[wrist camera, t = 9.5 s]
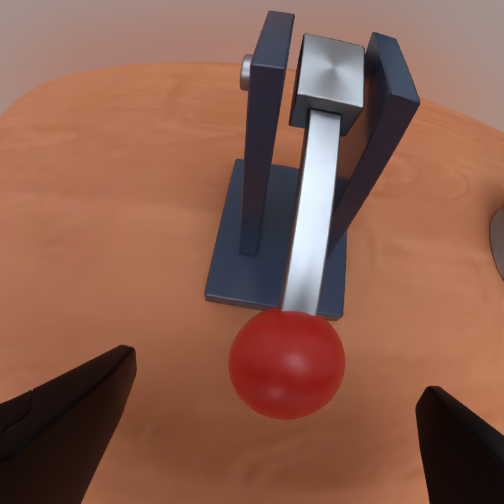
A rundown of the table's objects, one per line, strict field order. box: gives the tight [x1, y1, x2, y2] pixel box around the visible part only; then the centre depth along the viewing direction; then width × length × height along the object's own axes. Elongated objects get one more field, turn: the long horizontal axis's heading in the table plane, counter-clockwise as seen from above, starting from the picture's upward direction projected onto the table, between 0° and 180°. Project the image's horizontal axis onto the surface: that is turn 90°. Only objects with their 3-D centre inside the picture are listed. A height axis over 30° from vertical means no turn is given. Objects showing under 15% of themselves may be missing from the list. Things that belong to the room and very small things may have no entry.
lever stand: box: [204, 11, 420, 321], centre depth 15 cm, size 10×8×14 cm
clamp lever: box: [229, 34, 365, 420], centre depth 10 cm, size 13×4×4 cm, turn 171°
